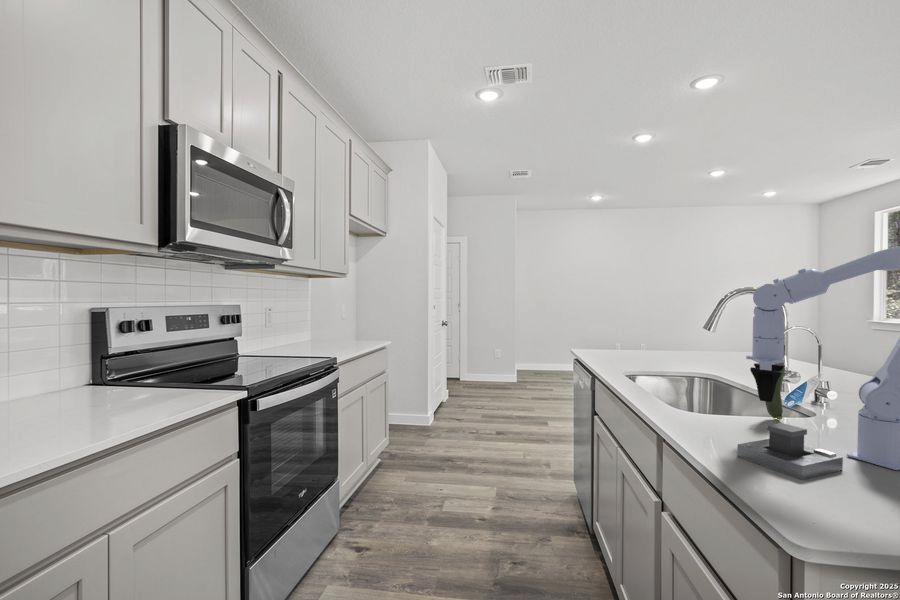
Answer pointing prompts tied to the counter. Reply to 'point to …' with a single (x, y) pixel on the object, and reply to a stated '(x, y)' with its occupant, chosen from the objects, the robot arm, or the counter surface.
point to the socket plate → (791, 460)
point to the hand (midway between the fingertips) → (766, 397)
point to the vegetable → (776, 399)
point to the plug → (786, 439)
